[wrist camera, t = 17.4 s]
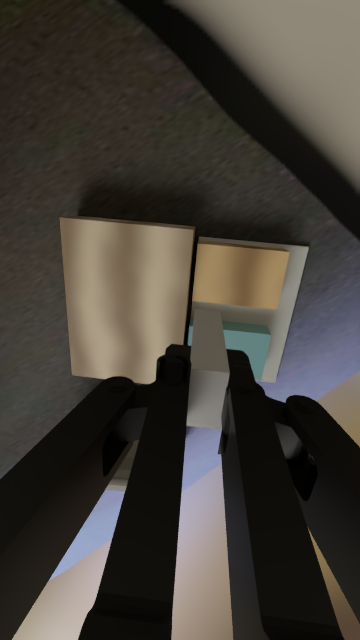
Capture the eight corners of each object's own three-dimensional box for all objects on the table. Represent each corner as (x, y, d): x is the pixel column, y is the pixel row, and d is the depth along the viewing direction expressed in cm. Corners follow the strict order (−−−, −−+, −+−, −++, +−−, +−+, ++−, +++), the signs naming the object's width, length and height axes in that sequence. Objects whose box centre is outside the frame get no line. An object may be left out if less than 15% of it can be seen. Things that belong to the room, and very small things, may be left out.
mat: (185, 370, 37) (185, 372, 37) (199, 236, 31) (199, 236, 30) (274, 380, 37) (275, 383, 36) (307, 246, 30) (308, 247, 30)
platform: (85, 358, 38) (72, 375, 35) (77, 215, 31) (59, 217, 28) (181, 369, 37) (178, 388, 34) (195, 226, 31) (193, 229, 27)
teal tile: (186, 361, 36) (184, 371, 34) (190, 317, 34) (189, 326, 32) (257, 369, 36) (261, 380, 34) (266, 325, 34) (271, 334, 31)
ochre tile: (193, 293, 33) (192, 300, 31) (198, 240, 31) (197, 243, 28) (272, 302, 32) (277, 309, 30) (283, 248, 30) (290, 252, 28)
